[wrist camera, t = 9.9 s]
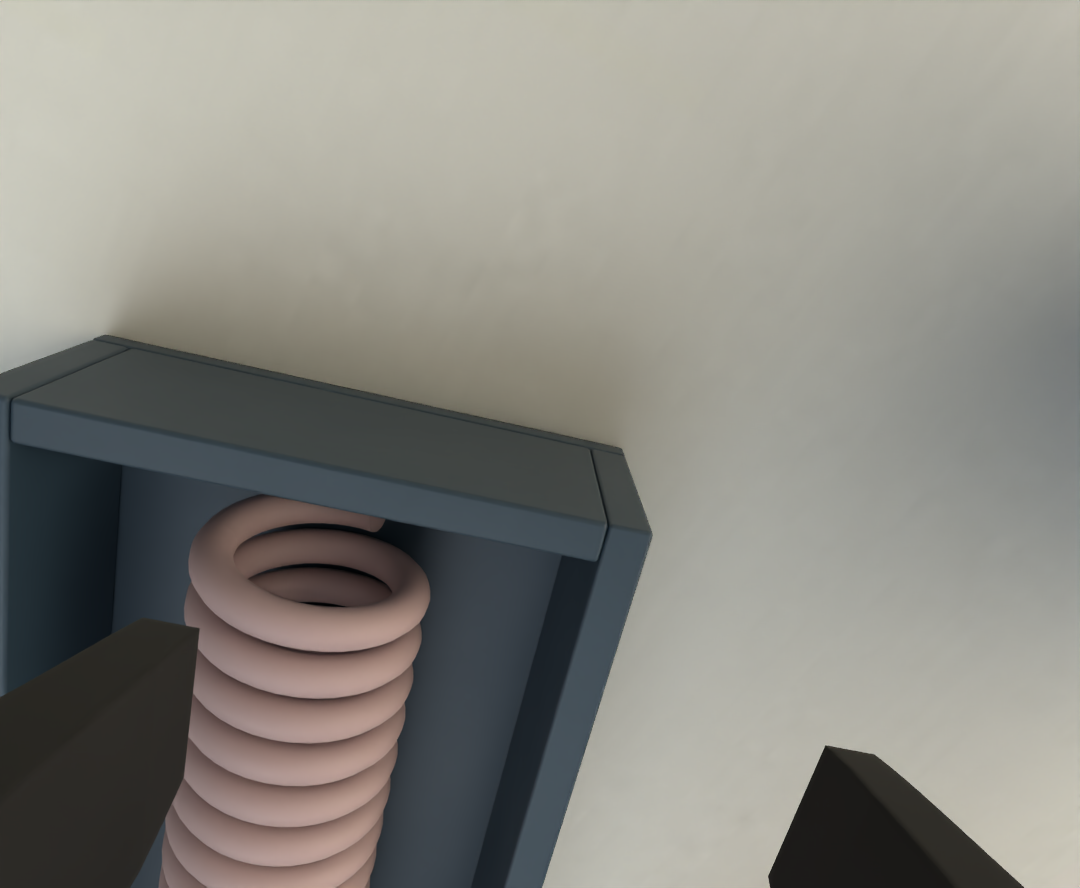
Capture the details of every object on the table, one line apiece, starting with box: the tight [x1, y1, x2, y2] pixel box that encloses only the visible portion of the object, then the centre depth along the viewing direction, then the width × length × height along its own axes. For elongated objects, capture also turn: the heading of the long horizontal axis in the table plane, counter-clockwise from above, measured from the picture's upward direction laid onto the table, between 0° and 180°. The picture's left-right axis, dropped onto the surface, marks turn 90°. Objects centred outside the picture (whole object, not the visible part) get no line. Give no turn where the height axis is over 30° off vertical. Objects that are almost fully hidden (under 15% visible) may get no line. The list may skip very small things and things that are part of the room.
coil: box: [159, 494, 430, 888], centre depth 18 cm, size 5×5×18 cm
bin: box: [0, 335, 653, 888], centre depth 18 cm, size 12×22×4 cm, turn 167°
